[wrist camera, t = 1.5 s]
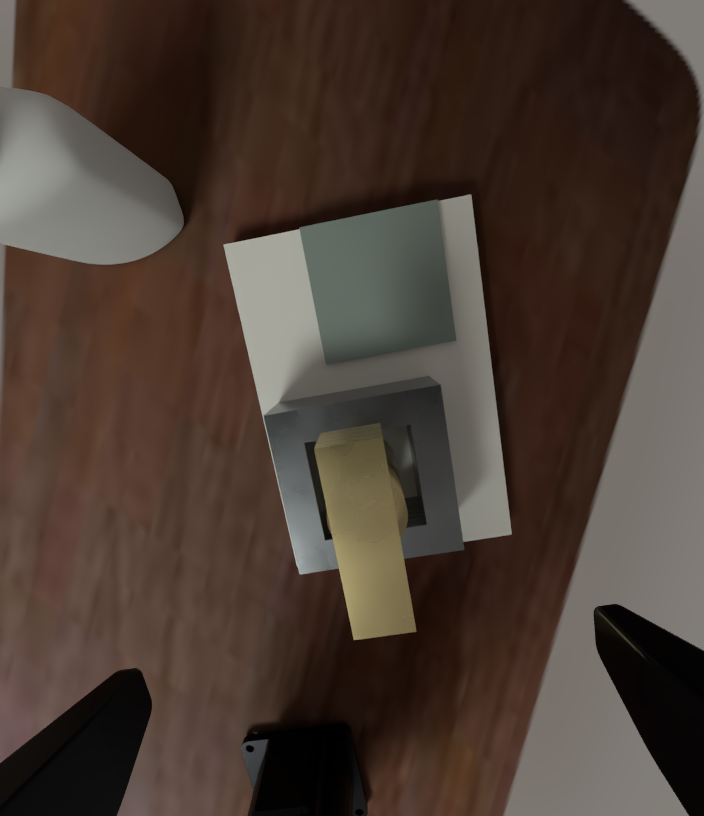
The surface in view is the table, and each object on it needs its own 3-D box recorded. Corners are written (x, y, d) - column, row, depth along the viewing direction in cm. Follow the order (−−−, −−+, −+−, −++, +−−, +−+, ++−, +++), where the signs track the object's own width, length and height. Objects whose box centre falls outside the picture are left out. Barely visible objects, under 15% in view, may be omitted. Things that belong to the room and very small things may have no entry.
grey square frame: (449, 517, 20) (464, 550, 18) (308, 539, 21) (299, 574, 18) (428, 375, 19) (440, 384, 16) (278, 402, 20) (263, 415, 17)
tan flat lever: (405, 517, 21) (429, 629, 13) (349, 525, 21) (341, 642, 13) (383, 392, 19) (396, 434, 12) (325, 402, 20) (300, 451, 12)
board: (505, 525, 22) (511, 534, 21) (299, 556, 22) (296, 566, 21) (465, 201, 19) (471, 194, 18) (230, 248, 19) (223, 244, 18)
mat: (455, 340, 19) (456, 340, 19) (326, 363, 19) (325, 364, 19) (436, 201, 18) (437, 199, 17) (300, 229, 18) (299, 227, 18)
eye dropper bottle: (71, 160, 19) (-420, -121, 7) (193, 186, 19) (-94, -49, 7) (65, 258, 20) (-384, 156, 8) (181, 283, 20) (-92, 219, 8)
